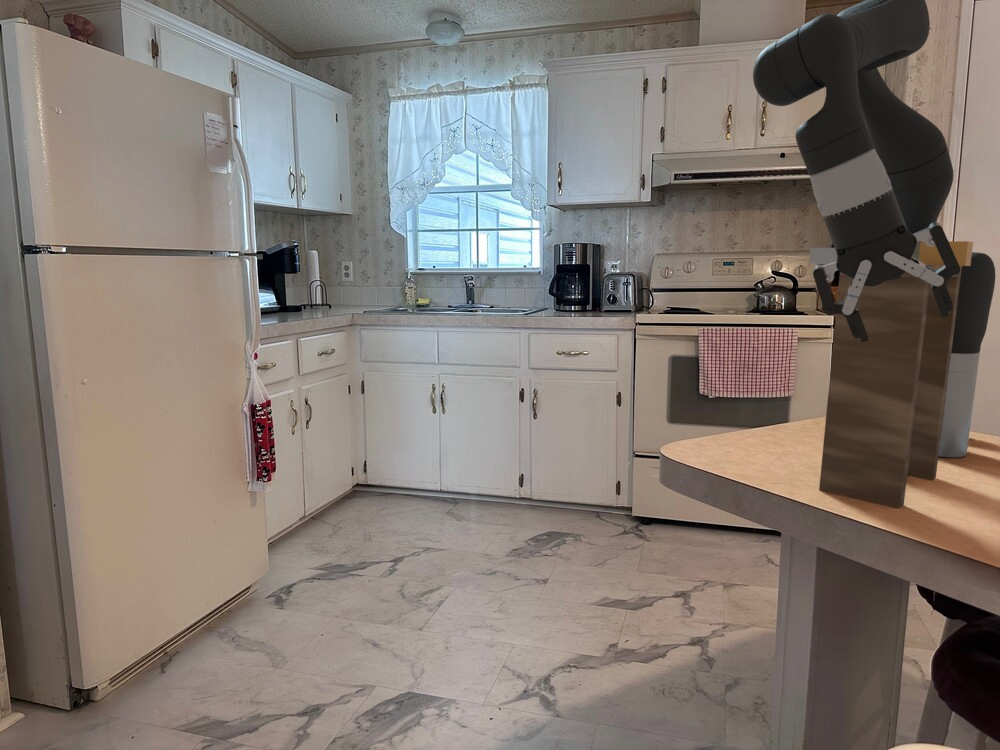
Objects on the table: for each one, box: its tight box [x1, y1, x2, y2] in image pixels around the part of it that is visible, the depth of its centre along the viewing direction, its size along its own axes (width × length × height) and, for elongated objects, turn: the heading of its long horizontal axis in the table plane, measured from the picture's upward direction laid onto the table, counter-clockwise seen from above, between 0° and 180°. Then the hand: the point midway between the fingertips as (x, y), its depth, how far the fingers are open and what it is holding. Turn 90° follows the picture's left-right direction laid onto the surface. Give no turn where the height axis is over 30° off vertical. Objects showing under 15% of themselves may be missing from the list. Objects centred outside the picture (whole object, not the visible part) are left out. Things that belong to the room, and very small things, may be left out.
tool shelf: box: [818, 242, 962, 510], centre depth 96 cm, size 19×10×34 cm, turn 136°
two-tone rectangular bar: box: [808, 240, 974, 266], centre depth 100 cm, size 3×20×3 cm, turn 46°
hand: (903, 327), depth 81 cm, fingers open, 8 cm apart
